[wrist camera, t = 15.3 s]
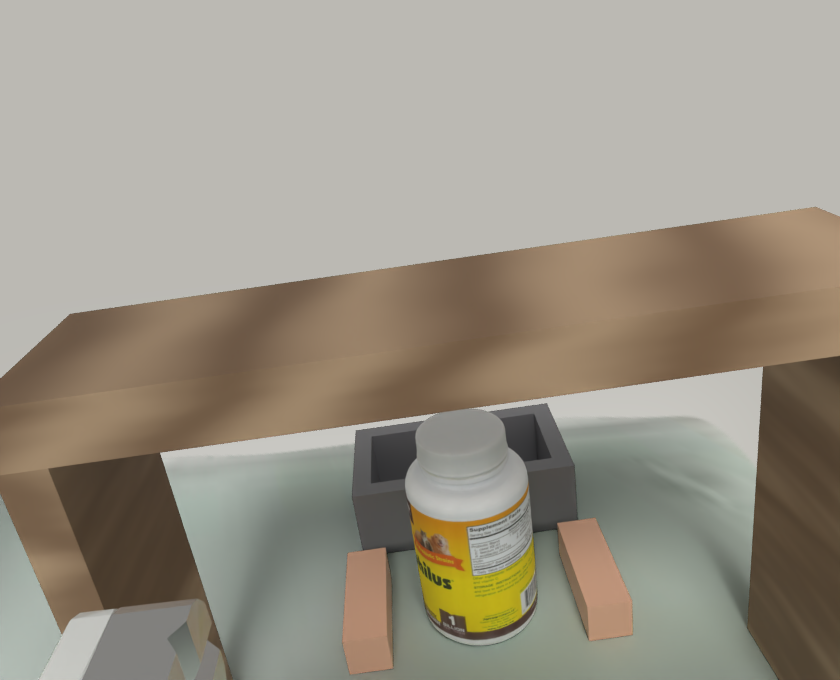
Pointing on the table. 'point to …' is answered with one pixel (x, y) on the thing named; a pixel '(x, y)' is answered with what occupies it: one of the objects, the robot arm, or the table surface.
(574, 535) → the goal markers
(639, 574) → the table surface
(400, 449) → the box
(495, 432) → the supplement bottle
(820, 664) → the tunnel
